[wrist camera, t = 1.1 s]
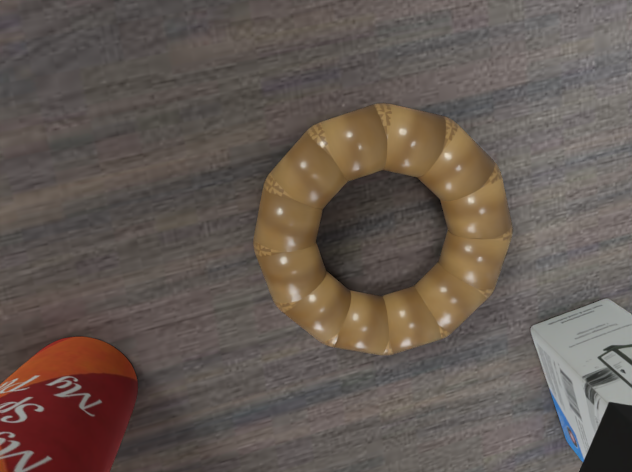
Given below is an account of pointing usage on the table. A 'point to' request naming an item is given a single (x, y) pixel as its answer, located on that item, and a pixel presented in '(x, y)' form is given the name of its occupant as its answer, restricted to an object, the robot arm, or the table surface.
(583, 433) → the ink box
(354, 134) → the ring
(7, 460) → the coffee cup
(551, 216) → the table surface
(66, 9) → the table surface
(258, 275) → the table surface
